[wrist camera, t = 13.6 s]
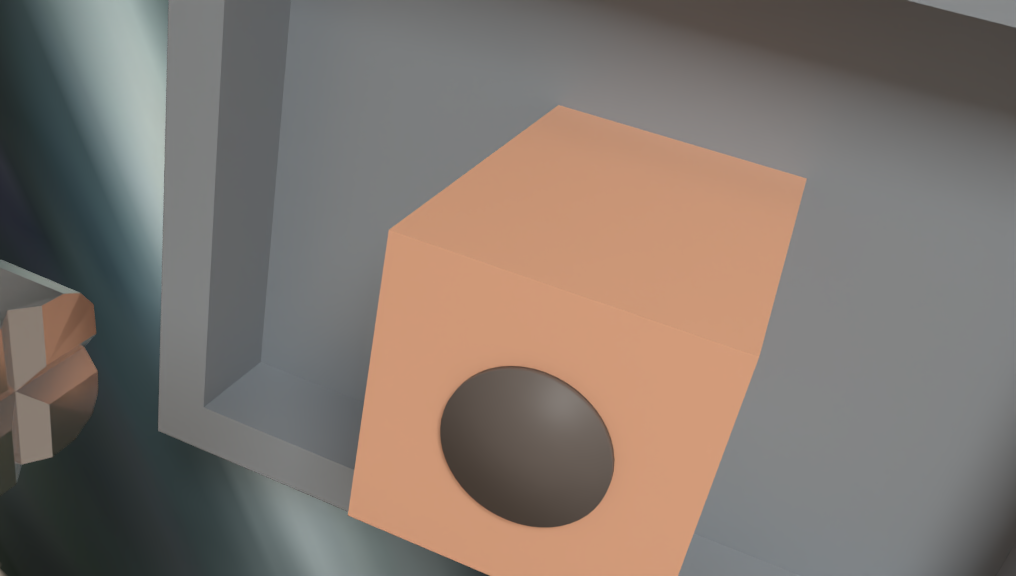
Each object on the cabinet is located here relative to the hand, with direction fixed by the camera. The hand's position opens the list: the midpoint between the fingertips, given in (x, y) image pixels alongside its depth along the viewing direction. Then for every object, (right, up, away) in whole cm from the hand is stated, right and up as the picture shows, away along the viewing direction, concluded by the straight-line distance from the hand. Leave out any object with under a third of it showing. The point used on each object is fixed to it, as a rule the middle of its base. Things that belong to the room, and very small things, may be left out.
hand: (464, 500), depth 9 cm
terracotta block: (+3, +2, +7) cm, 8 cm away
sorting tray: (+3, +3, +8) cm, 9 cm away
